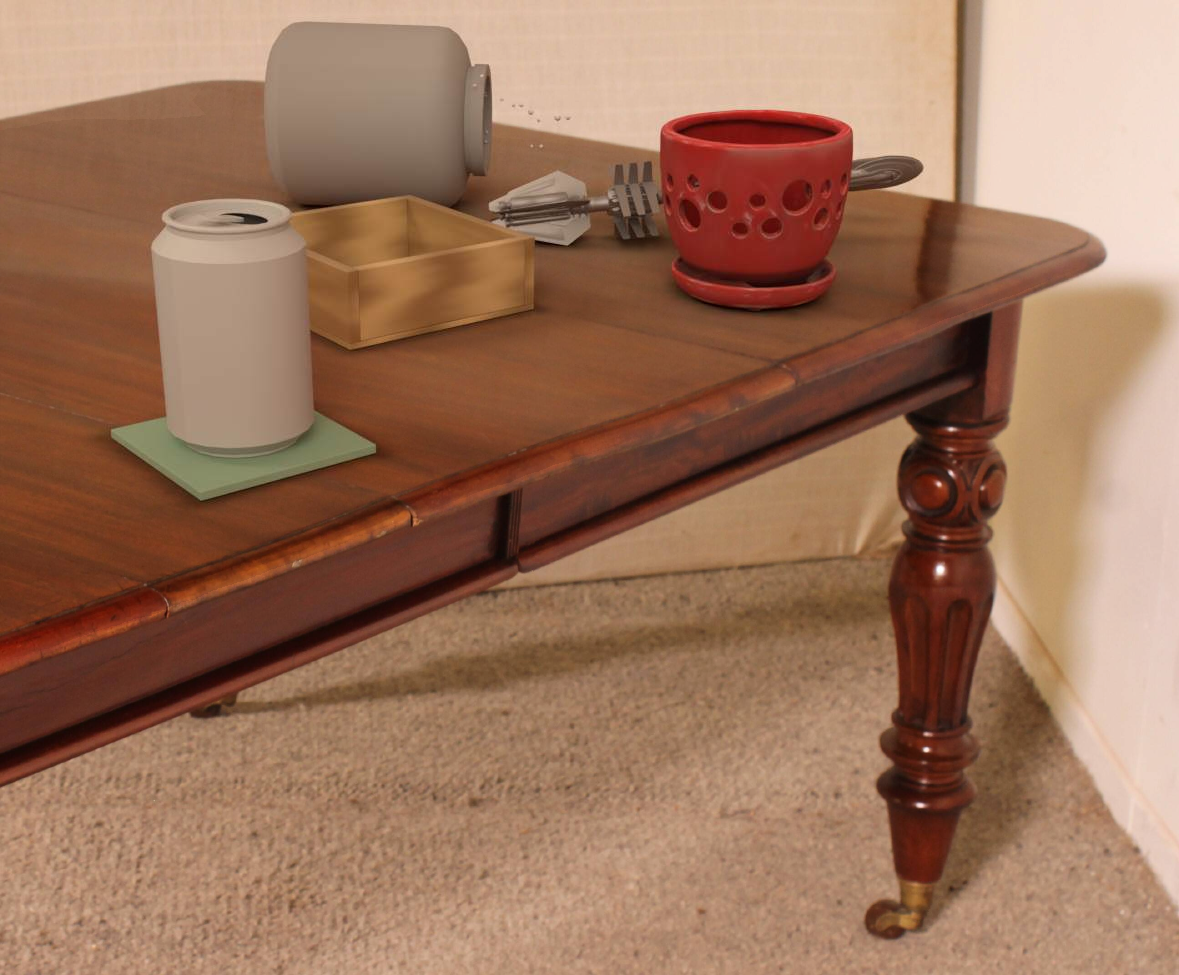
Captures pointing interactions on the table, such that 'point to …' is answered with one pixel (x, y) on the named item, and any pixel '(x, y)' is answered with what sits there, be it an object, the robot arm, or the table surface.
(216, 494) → the mat
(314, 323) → the wooden box
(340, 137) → the jar
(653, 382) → the table surface
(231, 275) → the can
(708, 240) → the flower pot
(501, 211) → the spaceship
